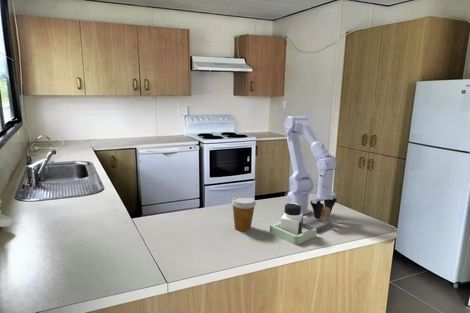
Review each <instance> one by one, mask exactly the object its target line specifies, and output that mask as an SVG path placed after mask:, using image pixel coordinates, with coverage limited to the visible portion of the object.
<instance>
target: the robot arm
mask: <svg viewBox="0 0 470 313" xmlns="http://www.w3.org/2000/svg"><path fill="white" fill-rule="evenodd" d="M283 125H284V131H285V135H286V141H287V147H288V152H289V158H290V162H291V168H292V172H293V173H292V174H291V176H289V190H290V191H289V192H288V193H287V197H286V204H288V203H296V204H298V205H300V206H301V214H300V215H303V216H304V215H307V214H310V213H312V211H313V215H314V217H315V218H317V219H320V216H321V211H322V208H323V206H326V207H329V208H330V214H331V213H332V211H333V210H332V209H333V207H334V205H335V204H336V202H337V200H338V199H337V198H336V196H337V195H336V192H334V191H333V183H334V173H335V172H334V171H335V170H336V169H337V168H338V164H339V163H338V160H337V157H336V156H334V155H332V154H330V153H329V151H328V150H327V148H326V146H325V144H324V143H323V142H322V141H319V140H318V139H317V137H316V135H315V133H314V131H313V129H312V127H311V121H310V120H309V118H308V116H306V115H302V116H301V115H300V116H299V115H298V116H297V115H295V116H292V115H288V116H287V117H286V118H285V121H284V122H283ZM301 136H303V137H304V139H305V140H306V141H307V142H308V144H309V145H310V149H309V150H310V151H311V152H310V153H312V155H313V156H314V158H315V160H316V161H317V162H316V168H317V170H318V171H317V173H318V182H317V183H318V184H317V193H316V194H315V195H314V196H313V197H311V200H310V202H309V197H310V194H311V192H312V191H313V190H314V187H315V186H314V181H313V180H312V178H311V174H310V173H308V172H307V171H306V168H305V163H304V158H303V153H302V149H301V143H300V137H301ZM322 202H323V203H322ZM309 203H310V205H311V207H312V210H310V209H309Z"/></svg>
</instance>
